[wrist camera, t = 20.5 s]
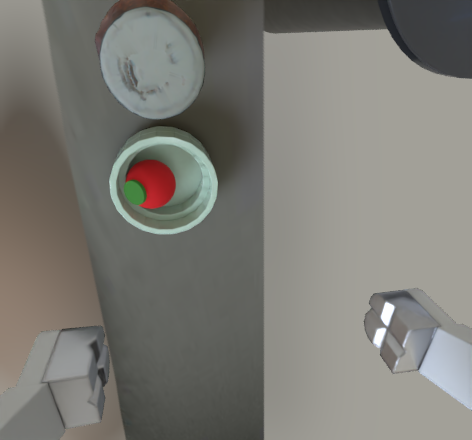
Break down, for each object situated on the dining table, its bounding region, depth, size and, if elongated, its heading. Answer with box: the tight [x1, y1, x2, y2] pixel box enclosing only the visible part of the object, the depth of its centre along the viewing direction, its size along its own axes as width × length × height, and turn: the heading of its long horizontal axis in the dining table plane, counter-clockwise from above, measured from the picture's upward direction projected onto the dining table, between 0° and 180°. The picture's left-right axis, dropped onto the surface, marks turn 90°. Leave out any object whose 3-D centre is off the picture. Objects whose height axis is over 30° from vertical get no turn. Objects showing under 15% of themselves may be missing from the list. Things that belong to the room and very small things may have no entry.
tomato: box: [124, 159, 176, 209], centre depth 32 cm, size 5×5×5 cm
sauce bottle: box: [95, 0, 205, 119], centre depth 21 cm, size 6×6×20 cm
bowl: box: [109, 126, 218, 234], centre depth 33 cm, size 10×10×4 cm
